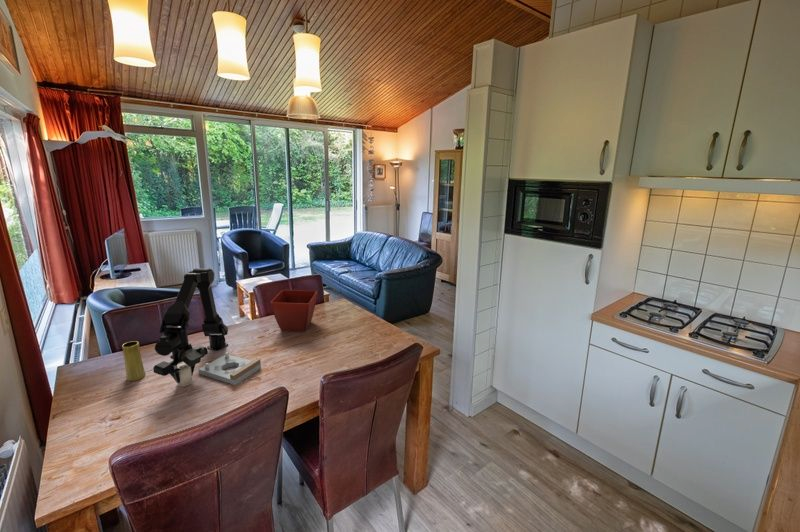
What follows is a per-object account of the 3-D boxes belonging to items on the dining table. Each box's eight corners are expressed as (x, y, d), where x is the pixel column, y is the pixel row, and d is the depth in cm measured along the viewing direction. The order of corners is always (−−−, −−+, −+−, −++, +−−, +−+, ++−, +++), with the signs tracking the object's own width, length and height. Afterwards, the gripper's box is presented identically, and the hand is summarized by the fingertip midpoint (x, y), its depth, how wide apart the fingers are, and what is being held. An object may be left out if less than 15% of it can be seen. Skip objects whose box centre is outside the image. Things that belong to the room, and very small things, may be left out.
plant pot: (309, 334, 188) (308, 303, 183) (272, 333, 188) (269, 302, 183) (318, 319, 206) (317, 290, 202) (283, 318, 206) (282, 289, 202)
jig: (199, 373, 151) (198, 364, 150) (226, 358, 164) (226, 349, 162) (234, 385, 144) (233, 375, 143) (261, 367, 157) (260, 359, 155)
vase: (149, 374, 150) (143, 342, 146) (134, 382, 144) (128, 348, 140) (138, 371, 152) (132, 339, 148) (122, 379, 146) (116, 346, 142)
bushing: (174, 384, 143) (172, 368, 141) (186, 378, 148) (184, 362, 146) (184, 387, 141) (181, 371, 139) (195, 381, 146) (193, 365, 144)
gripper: (171, 358, 129) (177, 397, 133) (216, 336, 145) (220, 372, 149) (149, 351, 133) (155, 390, 137) (195, 331, 149) (200, 366, 153)
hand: (184, 379), depth 144 cm, fingers closed on bushing, 5 cm apart
